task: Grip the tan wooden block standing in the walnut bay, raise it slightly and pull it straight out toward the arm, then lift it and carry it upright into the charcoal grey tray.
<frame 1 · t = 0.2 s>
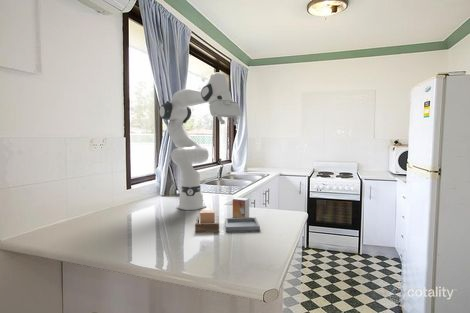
hand: (229, 124, 155), 52 cm above the countertop, tool tilted 20°, fingers open, 8 cm apart
tan wooden block: (207, 219, 144), in the walnut bay
grey tray: (241, 226, 144), on the countertop
walnut bay: (207, 227, 145), on the countertop
small box: (241, 217, 162), on the countertop
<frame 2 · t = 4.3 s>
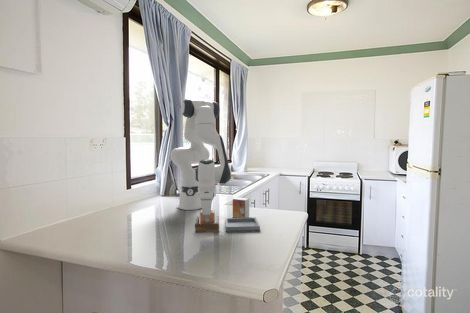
hand: (207, 220, 144), 4 cm above the countertop, tool pointing down, fingers closed on tan wooden block, 5 cm apart
tan wooden block: (207, 219, 144), in the walnut bay, touching gripper
everything else where it was.
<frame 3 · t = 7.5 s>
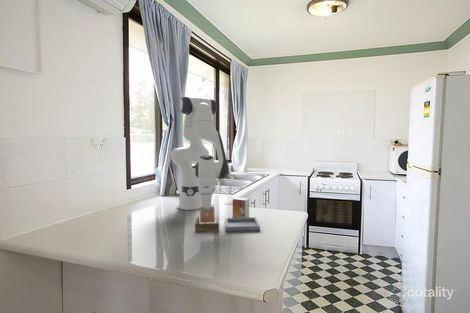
hand: (207, 214, 149), 5 cm above the countertop, tool pointing down, fingers closed on tan wooden block, 5 cm apart
tan wooden block: (207, 213, 149), point 6 cm above the countertop, touching gripper
everything else where it was.
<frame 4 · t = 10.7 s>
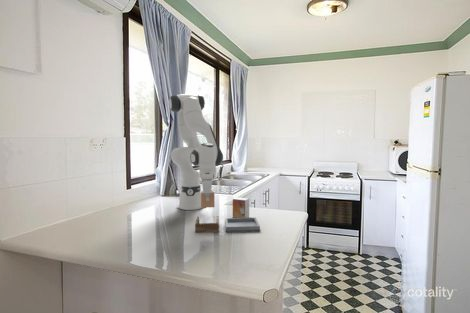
hand: (207, 199, 155), 12 cm above the countertop, tool pointing down, fingers closed on tan wooden block, 5 cm apart
tan wooden block: (207, 198, 155), point 12 cm above the countertop, touching gripper
everything else where it was.
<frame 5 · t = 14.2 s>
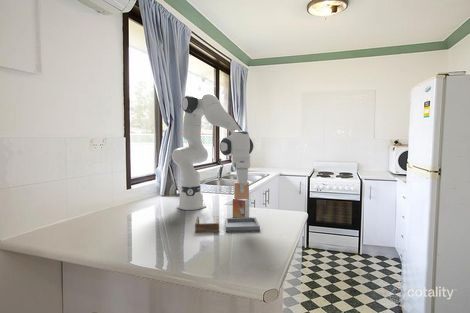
hand: (241, 191, 143), 18 cm above the countertop, tool pointing down, fingers closed on tan wooden block, 5 cm apart
tan wooden block: (241, 190, 143), point 18 cm above the countertop, touching gripper
everything else where it was.
when the fingers open (6 cm above the countertop, at t = 17.2 s): tan wooden block drops 2 cm, resting on grey tray.
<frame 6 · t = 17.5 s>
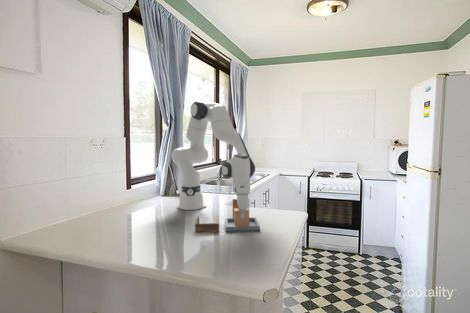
hand: (241, 214, 144), 6 cm above the countertop, tool pointing down, fingers open, 8 cm apart
tan wooden block: (241, 217, 144), in the grey tray, point 5 cm above the countertop
everything else where it was.
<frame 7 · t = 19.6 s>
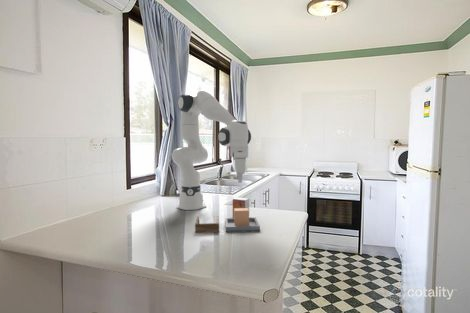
hand: (239, 181, 144), 23 cm above the countertop, tool pointing down, fingers open, 8 cm apart
nothing on the countertop moved.
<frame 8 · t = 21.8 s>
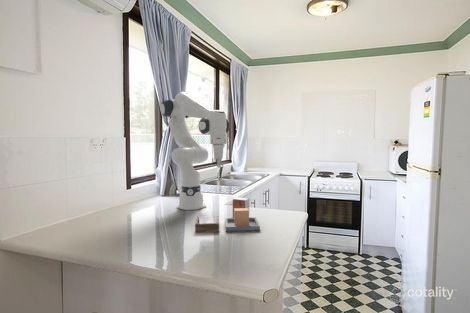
hand: (218, 166, 155), 29 cm above the countertop, tool pointing down, fingers open, 8 cm apart
nothing on the countertop moved.
at the end: tan wooden block inside the target area on the grey tray (0.1 cm from its centre), point 4.8 cm above the grey tray's base; tan wooden block tilted 0°; the gripper is holding nothing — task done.
